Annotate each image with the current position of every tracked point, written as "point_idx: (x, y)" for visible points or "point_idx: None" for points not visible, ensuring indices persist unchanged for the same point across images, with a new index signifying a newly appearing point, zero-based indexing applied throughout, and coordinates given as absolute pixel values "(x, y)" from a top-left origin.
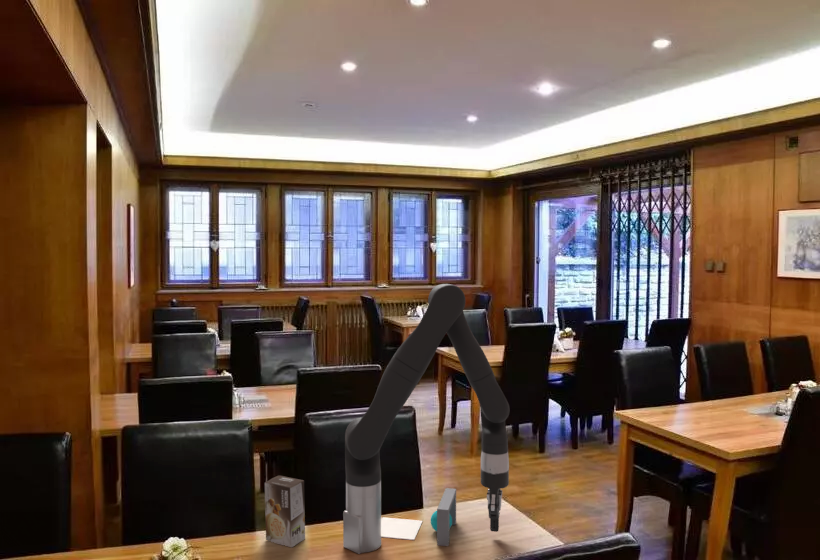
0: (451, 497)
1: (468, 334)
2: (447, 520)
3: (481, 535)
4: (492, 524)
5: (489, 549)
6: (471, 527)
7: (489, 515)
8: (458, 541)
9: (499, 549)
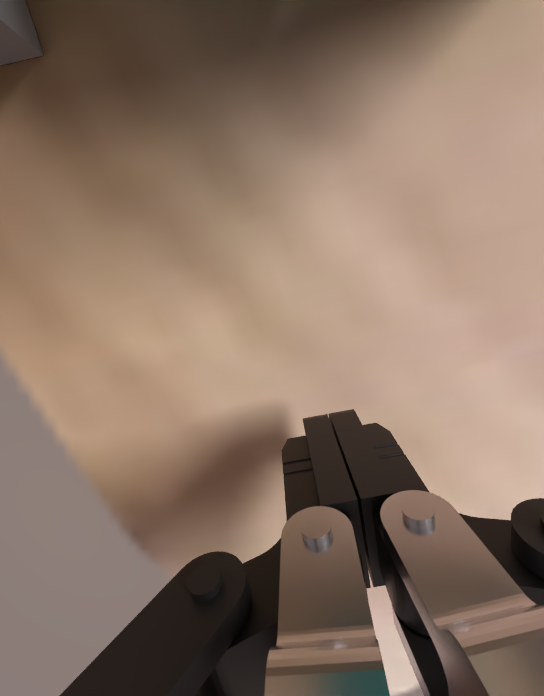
0: None
1: None
2: None
3: (322, 306)
4: (284, 487)
5: (119, 426)
6: (456, 166)
7: (114, 651)
8: (120, 141)
9: (155, 483)
